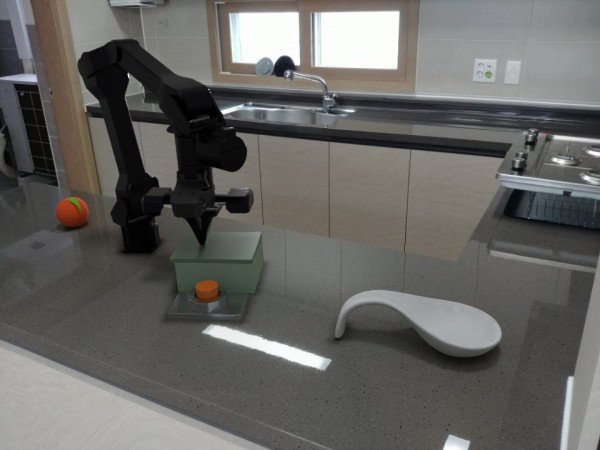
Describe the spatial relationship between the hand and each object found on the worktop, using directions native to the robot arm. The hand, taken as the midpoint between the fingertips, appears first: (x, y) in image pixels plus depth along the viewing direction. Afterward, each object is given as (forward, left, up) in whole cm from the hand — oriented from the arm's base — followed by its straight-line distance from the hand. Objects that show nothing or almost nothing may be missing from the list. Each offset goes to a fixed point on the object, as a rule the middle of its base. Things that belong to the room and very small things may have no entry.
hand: (203, 244), depth 97 cm
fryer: (+3, 0, -7) cm, 7 cm away
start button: (+3, -11, -4) cm, 12 cm away
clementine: (-36, +22, -7) cm, 43 cm away
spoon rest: (+36, -19, -7) cm, 41 cm away
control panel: (+3, -11, -7) cm, 13 cm away
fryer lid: (+3, 0, -1) cm, 3 cm away
